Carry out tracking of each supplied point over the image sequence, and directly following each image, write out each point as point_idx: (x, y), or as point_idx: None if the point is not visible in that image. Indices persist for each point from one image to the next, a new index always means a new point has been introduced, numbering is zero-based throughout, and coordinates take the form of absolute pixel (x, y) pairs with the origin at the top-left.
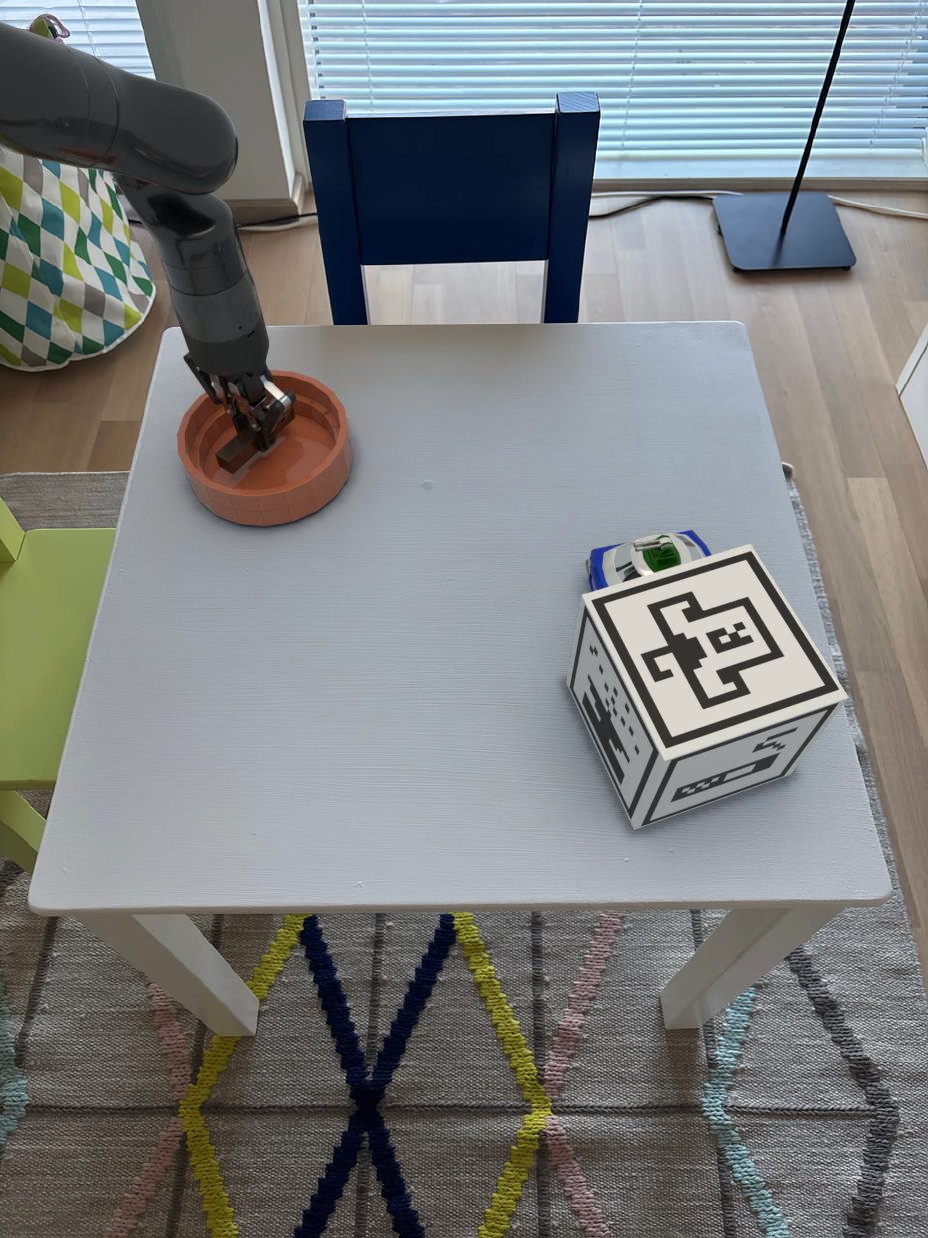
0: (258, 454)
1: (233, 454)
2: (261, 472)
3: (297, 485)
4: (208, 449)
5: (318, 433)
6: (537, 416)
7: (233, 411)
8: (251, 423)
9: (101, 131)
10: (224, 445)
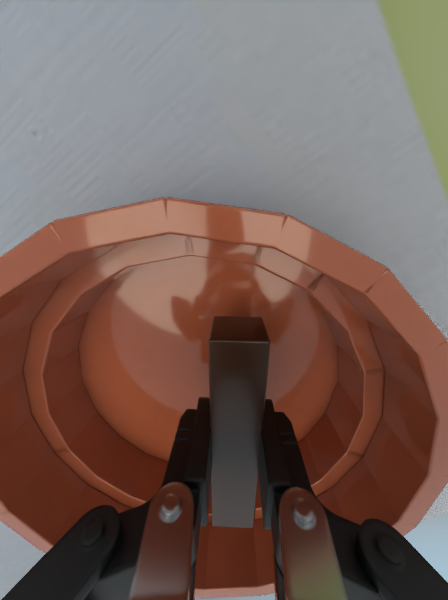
0: None
1: (218, 367)
2: (203, 352)
3: None
4: (336, 340)
5: None
6: (5, 565)
7: (281, 533)
8: (179, 521)
9: None
10: (265, 378)
